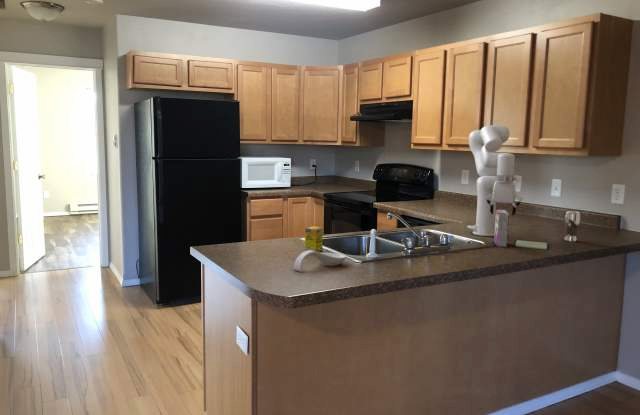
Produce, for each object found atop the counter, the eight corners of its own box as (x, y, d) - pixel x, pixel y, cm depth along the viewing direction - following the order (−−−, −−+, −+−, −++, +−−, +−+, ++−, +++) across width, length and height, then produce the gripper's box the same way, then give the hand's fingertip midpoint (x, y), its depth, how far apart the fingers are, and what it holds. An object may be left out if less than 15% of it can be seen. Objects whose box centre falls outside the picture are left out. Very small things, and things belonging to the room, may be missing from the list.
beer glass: (571, 242, 259) (574, 213, 257) (559, 240, 265) (562, 211, 263) (580, 241, 262) (583, 212, 260) (568, 239, 268) (571, 210, 266)
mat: (515, 246, 247) (515, 245, 247) (516, 241, 260) (516, 240, 260) (546, 249, 242) (546, 248, 241) (546, 244, 254) (547, 242, 254)
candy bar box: (493, 242, 257) (495, 209, 254) (503, 242, 256) (506, 210, 253) (496, 246, 246) (498, 213, 244) (507, 247, 245) (509, 213, 243)
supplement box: (315, 254, 224) (316, 229, 222) (304, 252, 227) (304, 228, 225) (322, 251, 229) (323, 227, 227) (311, 249, 232) (312, 226, 230)
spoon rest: (331, 259, 215) (332, 242, 214) (351, 265, 206) (352, 247, 205) (287, 268, 199) (287, 250, 198) (307, 275, 191) (307, 256, 190)
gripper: (524, 179, 246) (522, 214, 248) (486, 178, 253) (484, 212, 255) (523, 180, 239) (521, 216, 241) (485, 178, 246) (483, 214, 248)
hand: (502, 214), depth 248 cm, fingers open, 9 cm apart
